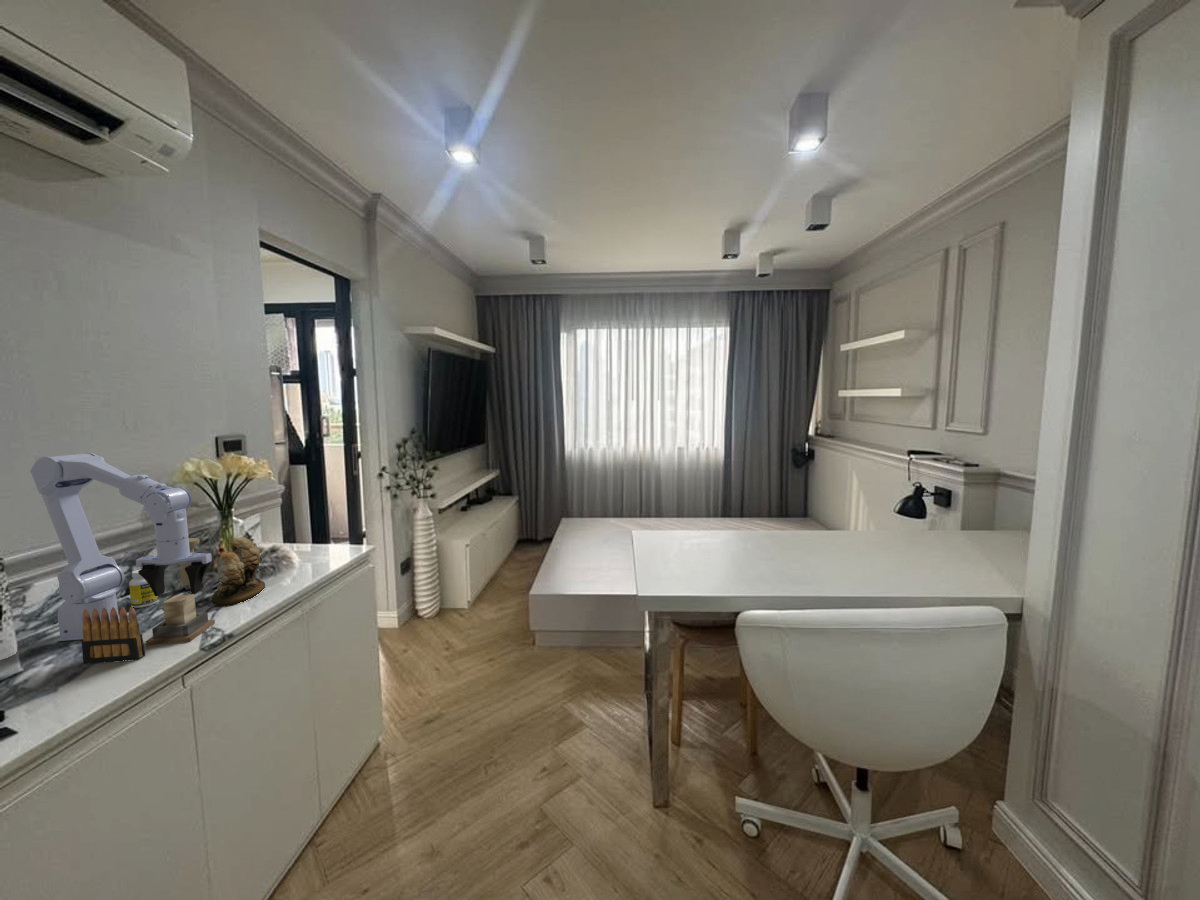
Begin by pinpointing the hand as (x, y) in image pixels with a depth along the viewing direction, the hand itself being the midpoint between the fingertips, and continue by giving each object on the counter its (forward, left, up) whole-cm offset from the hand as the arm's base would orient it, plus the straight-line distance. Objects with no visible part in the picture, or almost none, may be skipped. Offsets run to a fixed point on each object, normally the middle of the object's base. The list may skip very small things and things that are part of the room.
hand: (177, 593), depth 110 cm
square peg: (0, 0, -9) cm, 9 cm away
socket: (0, 0, -10) cm, 10 cm away
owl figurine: (0, +24, -11) cm, 26 cm away
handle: (-17, +31, -10) cm, 37 cm away
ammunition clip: (-7, -10, -11) cm, 16 cm away
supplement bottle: (-22, +21, -10) cm, 32 cm away
